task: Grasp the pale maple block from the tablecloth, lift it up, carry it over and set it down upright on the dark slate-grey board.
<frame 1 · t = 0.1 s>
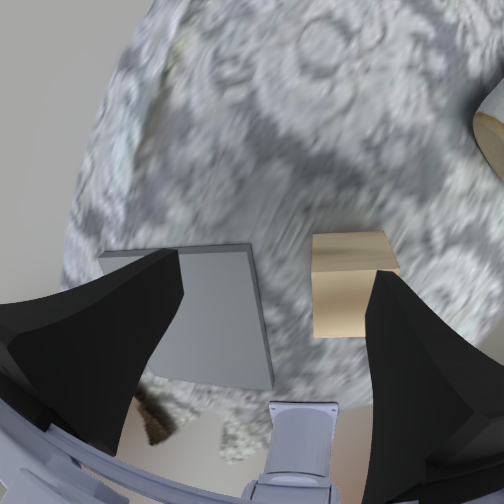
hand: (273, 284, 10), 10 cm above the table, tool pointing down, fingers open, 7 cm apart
slate board: (191, 323, 26), on the table
maple block: (348, 263, 20), on the table
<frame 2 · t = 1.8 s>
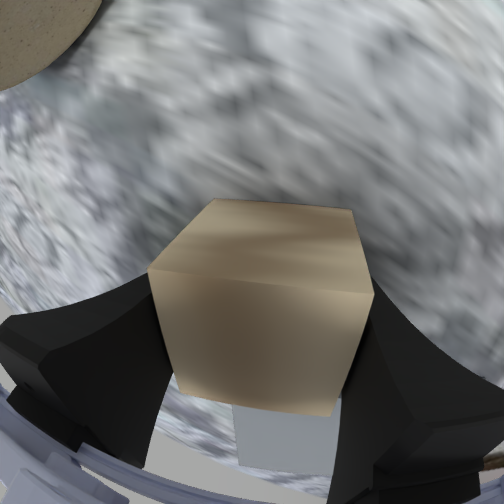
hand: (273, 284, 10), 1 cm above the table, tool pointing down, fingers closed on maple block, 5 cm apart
slate board: (347, 435, 17), on the table
maple block: (278, 263, 11), on the table, touching gripper
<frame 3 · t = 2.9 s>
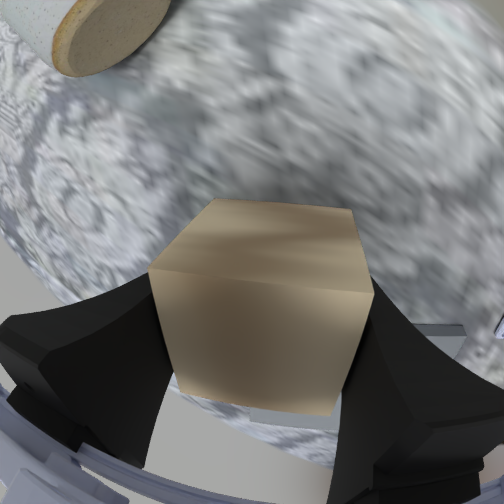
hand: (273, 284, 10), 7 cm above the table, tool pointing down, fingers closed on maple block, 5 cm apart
slate board: (346, 382, 22), on the table
maple block: (278, 263, 11), point 5 cm above the table, touching gripper
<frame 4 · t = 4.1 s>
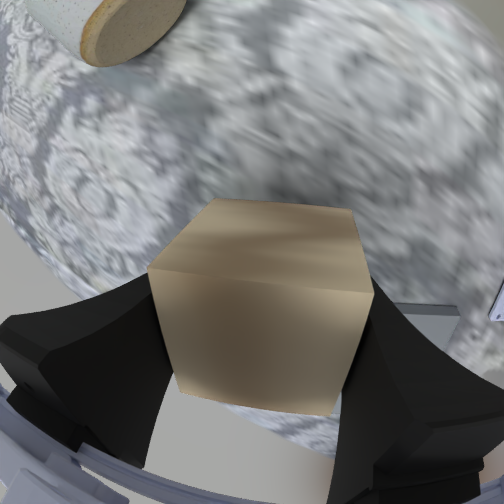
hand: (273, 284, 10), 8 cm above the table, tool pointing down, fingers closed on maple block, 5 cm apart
slate board: (345, 363, 23), on the table
maple block: (278, 263, 11), point 7 cm above the table, touching gripper
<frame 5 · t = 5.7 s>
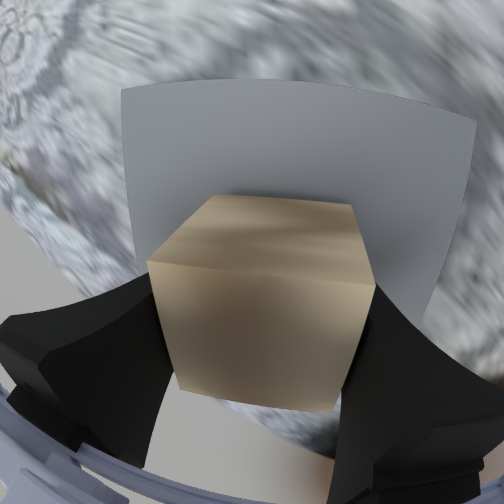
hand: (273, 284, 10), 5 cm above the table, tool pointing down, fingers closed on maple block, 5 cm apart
slate board: (287, 230, 14), on the table
maple block: (278, 259, 11), point 3 cm above the table, touching gripper
when the fingers open (4 cm above the table, at t = 6.7 s): maple block drops 1 cm, resting on slate board.
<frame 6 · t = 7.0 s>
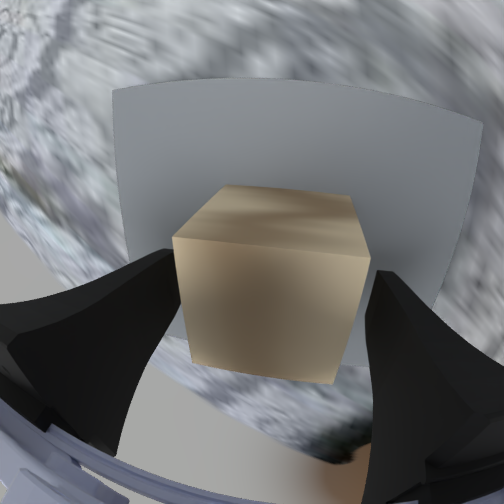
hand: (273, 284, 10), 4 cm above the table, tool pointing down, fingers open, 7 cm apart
slate board: (285, 236, 14), on the table
maple block: (283, 245, 12), point 1 cm above the table, touching slate board
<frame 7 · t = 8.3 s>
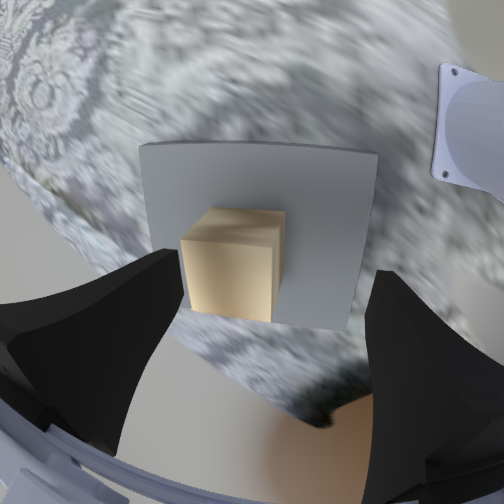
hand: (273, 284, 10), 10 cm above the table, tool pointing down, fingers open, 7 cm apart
slate board: (252, 236, 21), on the table
maple block: (248, 242, 20), point 1 cm above the table, touching slate board
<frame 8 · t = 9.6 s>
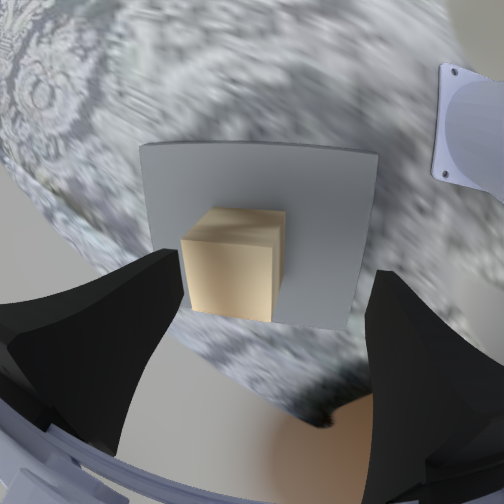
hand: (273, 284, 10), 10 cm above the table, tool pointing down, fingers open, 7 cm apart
slate board: (252, 236, 21), on the table
maple block: (248, 242, 20), point 1 cm above the table, touching slate board
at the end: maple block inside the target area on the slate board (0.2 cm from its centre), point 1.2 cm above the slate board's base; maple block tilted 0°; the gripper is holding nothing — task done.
